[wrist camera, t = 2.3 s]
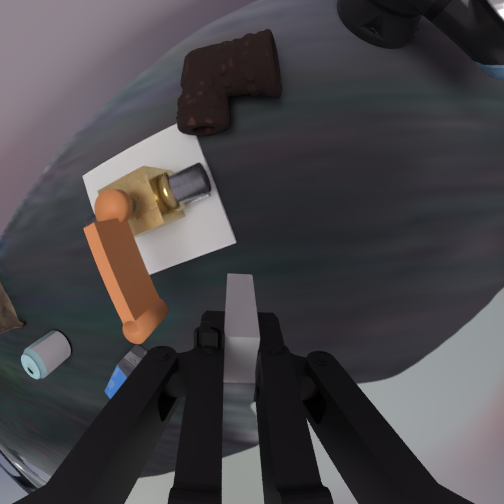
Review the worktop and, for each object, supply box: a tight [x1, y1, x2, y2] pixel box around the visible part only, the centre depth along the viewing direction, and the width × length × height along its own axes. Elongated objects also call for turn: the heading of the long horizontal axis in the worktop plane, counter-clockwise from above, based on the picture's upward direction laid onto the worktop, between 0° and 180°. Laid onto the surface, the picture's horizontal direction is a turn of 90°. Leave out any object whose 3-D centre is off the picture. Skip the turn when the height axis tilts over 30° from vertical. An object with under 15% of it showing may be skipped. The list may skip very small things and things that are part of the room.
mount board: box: [83, 124, 237, 275], centre depth 45 cm, size 22×21×1 cm
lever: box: [83, 189, 168, 344], centre depth 31 cm, size 17×4×7 cm, turn 21°
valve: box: [86, 162, 211, 238], centre depth 39 cm, size 20×8×12 cm, turn 111°
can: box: [21, 330, 71, 379], centre depth 48 cm, size 7×7×12 cm
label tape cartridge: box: [105, 344, 148, 399], centre depth 46 cm, size 9×4×12 cm, turn 146°
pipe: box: [176, 29, 282, 136], centre depth 37 cm, size 10×15×15 cm
